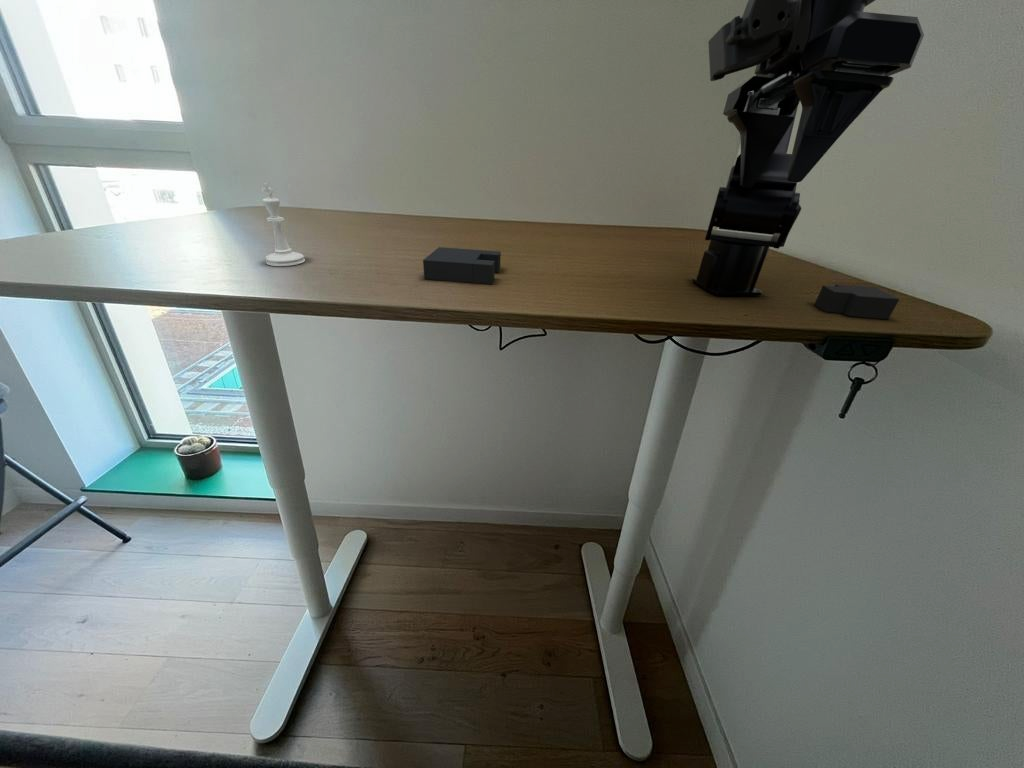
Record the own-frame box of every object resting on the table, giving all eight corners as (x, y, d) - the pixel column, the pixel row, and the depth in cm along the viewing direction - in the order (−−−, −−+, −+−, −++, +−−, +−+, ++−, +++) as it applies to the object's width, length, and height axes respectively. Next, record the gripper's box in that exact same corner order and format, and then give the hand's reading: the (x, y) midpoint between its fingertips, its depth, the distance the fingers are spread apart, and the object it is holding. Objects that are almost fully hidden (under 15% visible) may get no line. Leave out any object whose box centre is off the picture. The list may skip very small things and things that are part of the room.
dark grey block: (863, 306, 50) (874, 286, 49) (888, 319, 46) (900, 298, 45) (809, 302, 51) (818, 282, 49) (829, 315, 47) (839, 294, 46)
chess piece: (290, 267, 54) (269, 186, 49) (258, 264, 55) (234, 183, 50) (312, 259, 58) (296, 182, 53) (282, 256, 59) (263, 180, 54)
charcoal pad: (500, 269, 58) (500, 251, 57) (491, 284, 52) (492, 265, 50) (439, 264, 59) (438, 246, 57) (424, 279, 52) (422, 259, 51)
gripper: (697, 17, 42) (660, 182, 48) (802, -117, 25) (723, 166, 31) (804, 28, 42) (753, 192, 48) (986, -101, 25) (869, 181, 31)
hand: (767, 185), depth 39 cm, fingers open, 9 cm apart
